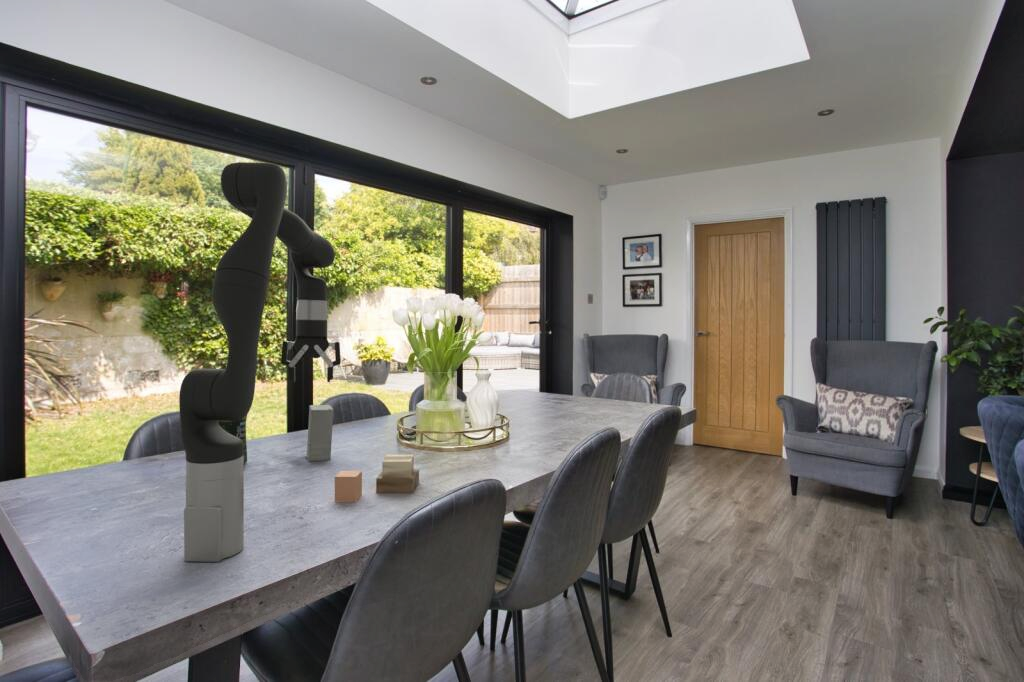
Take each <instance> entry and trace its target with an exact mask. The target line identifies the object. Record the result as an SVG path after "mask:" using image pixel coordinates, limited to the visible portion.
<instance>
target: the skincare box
mask: <svg viewBox="0 0 1024 682" xmlns="http://www.w3.org/2000/svg"><path fill="white" fill-rule="evenodd" d="M308 410H309V411H308V412H309V413H308V425H307V426H308V429H307V442H306V457H307V460H308V461H309V462H315V461H316V462H318V461H330V460H332V458H331V456H332V455H331V454H332V443H333V442H332V440H333V423H334V409H333V407H332V406H331V405H330V404H311V405H309V407H308Z"/></svg>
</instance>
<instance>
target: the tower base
mask: <svg viewBox="0 0 1024 682" xmlns="http://www.w3.org/2000/svg"><path fill="white" fill-rule="evenodd" d="M419 484H420V469H419V468H414V471H413V473H412V476H411V477H403V478H382V471H381V472H380V474H379V475H378V476H377V477H376V479H375V487H376V489H375V490H376V491H375V494H405V495H406V494H414V492H415V491H416V489H417V487H418V485H419Z"/></svg>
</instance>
